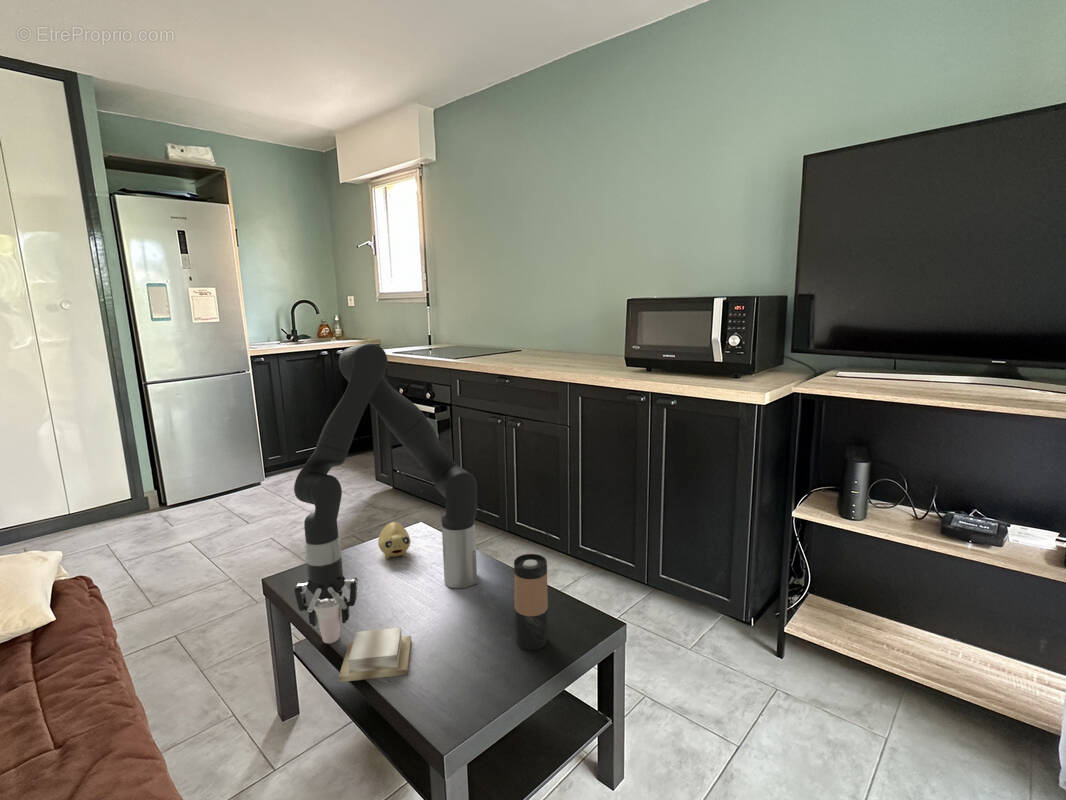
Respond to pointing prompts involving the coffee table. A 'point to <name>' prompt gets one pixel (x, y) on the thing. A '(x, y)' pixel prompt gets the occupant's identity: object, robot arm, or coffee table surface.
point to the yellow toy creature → (394, 540)
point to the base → (378, 672)
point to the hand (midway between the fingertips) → (329, 622)
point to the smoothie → (328, 619)
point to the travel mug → (531, 601)
